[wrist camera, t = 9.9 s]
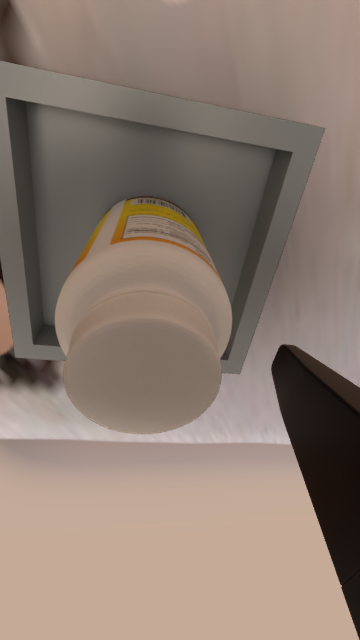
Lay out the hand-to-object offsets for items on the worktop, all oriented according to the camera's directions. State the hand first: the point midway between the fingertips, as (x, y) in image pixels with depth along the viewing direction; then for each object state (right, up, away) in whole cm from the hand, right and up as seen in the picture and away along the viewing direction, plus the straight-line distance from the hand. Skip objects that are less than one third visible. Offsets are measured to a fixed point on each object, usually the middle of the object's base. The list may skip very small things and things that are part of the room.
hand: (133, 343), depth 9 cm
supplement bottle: (0, +5, +7) cm, 9 cm away
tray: (-1, +5, +8) cm, 9 cm away
